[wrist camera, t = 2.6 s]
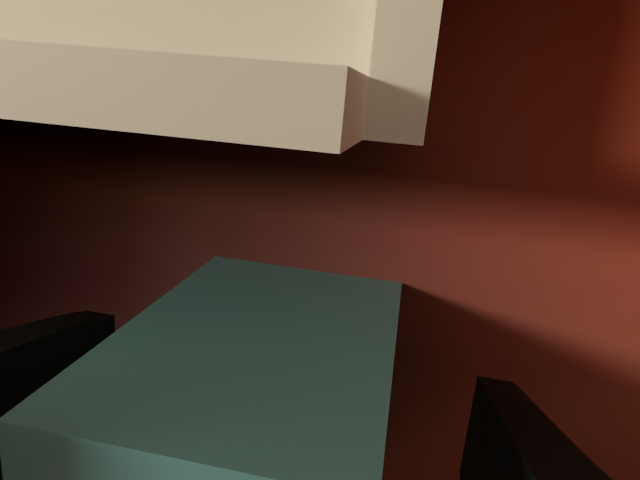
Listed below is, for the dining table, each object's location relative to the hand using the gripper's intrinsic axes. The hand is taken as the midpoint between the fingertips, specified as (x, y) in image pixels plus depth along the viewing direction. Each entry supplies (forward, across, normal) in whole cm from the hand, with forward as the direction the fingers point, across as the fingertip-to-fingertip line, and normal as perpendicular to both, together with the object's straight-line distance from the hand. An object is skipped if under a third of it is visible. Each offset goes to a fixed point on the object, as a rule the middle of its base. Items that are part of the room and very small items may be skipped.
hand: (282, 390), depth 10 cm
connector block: (+2, 0, 0) cm, 2 cm away
